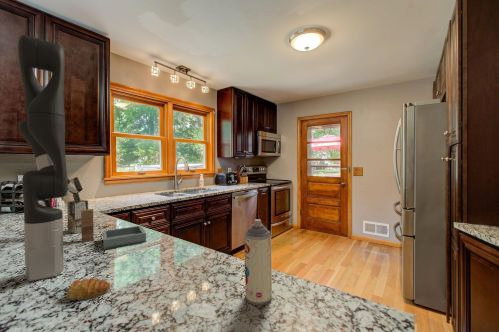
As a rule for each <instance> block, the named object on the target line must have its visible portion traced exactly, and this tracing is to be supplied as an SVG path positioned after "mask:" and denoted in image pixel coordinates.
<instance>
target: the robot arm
mask: <svg viewBox="0 0 499 332" xmlns="http://www.w3.org/2000/svg"><path fill="white" fill-rule="evenodd" d="M17 56H18V61H19V63H18V64H19V68H20V69H19V70H20V75H21V81H22V85H23V90H24V106H25V107H24V112H25V116H26V120H25V119H23V120H21V121H20V122H19V123H18V126H17V127H18V128H17V129H18V131H19V134H20V135H21V136H22V138H23V139H24V140H25V141H26V142H27V143H28V145H29V147H30V148H31V150H32V153H33V156H34V158H35V162H36V167H37V170H27V171H25V172H24V173H23V174H22V180H21V186H22V194H23V197H22V198H23V199H24V200H23V211H24V212H23V215H24V217H23V225H24V226H23V227H24V229H23V230H24V233H23V234H24V237H23V238H24V267H25V268H24V269H25V272H24V273H25V280H28V282H33V281H38V280H42V279H47V278H51V277H56V275H57V274H60V273H62V272H63V271H64V269H65V265H64V264H65V261H64V259H65V258H64V257H65V256H64V225H63V224H64V221H63V220H64V219H63V217H64V214H63V209H60V208H56V207H53V205H52V201H51V199H54V198H56V199H57V198H59V199H61V197H64V196H65V195H66V194H67V193H70V194H71V195H72V198H73V201H75V203H76V204H77V203H79V201H80V200H81V198H80V195H79V193H81V192H82V191H83V187H82V184H81V182H80V180H79V178H78V176H77V177H74V178H69V177H68V172H67V170H68V169H67V160H66V113H65V112H66V111H65V97H64V95H65V94H64V93H65V92H64V90H65V89H64V87H65V86H64V85H65V69H66V68H65V67H66V66H65V64H66V56H65V50H64V48H63V47H62V46H61V45H60V44H58V43H55V42H51V41H48V40H44V39H41V38H37V37H34V36H30V35H25V34H22V35H21V36H19V38H18V42H17ZM34 69H37V70H41V71H46V72H50V73H51V77H50V79H49V80H48V83H47V84H46V86H45V87H44V86H43V85H42V84H41V83H40V81H39V80H38V78H37V77H36V74H35V72H34ZM70 183H71V184H73V185H74V186H72V185H71V184H70ZM74 187H75V188H74ZM38 201H43V202H44V204H45V206H43V205H40V204H39V203H38Z"/></svg>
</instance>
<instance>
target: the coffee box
mask: <svg viewBox="0 0 499 332" xmlns="http://www.w3.org/2000/svg"><path fill="white" fill-rule="evenodd" d="M66 205H67V207H66V208H67V231H68V232H69V233H73V234H79V233H82V229H81V211H82V210H88V209H89V201H88V200H86V199H80V201H79V203H77V204H76V203H75V201H74V200H70V201H68V200H67V202H66Z"/></svg>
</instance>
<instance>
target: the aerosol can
mask: <svg viewBox="0 0 499 332" xmlns="http://www.w3.org/2000/svg"><path fill="white" fill-rule="evenodd" d="M253 222H254V223H253V224H252V225H251V226H249V228H247V230H245V232H244V233H245V234H244V278H245V279H244V285H245V286H244V287H245V288H244V289H245V294H244V295H245V301H246V302H248V304H250V305H253V306H260V307H261V306H265V305H267V304H270V302H271V301H272V299H273V298H272V297H273V291H272V289H273V284H272V283H273V282H272V279H273V278H272V275H273V274H272V271H273V270H272V234H271V230H269V229H268V228H267V227H266V226H265V225H264V224H263V223H262V220H261V219H260V218H259V219H257V218H256V219H254V220H253Z"/></svg>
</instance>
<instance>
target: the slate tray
mask: <svg viewBox="0 0 499 332" xmlns="http://www.w3.org/2000/svg"><path fill="white" fill-rule="evenodd" d="M102 233H103V234H102V235H103V236H102V237H103V242H102V243H103V250H104V251H105V250H110V249H116V248H121V247H127V246H133V245H138V244H144V243H147V232H146V231H145V230H144V228H143V227H142V225H135V226H129V227H127V226H126V227H120V228H114V229H109V230H103V231H102Z"/></svg>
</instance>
